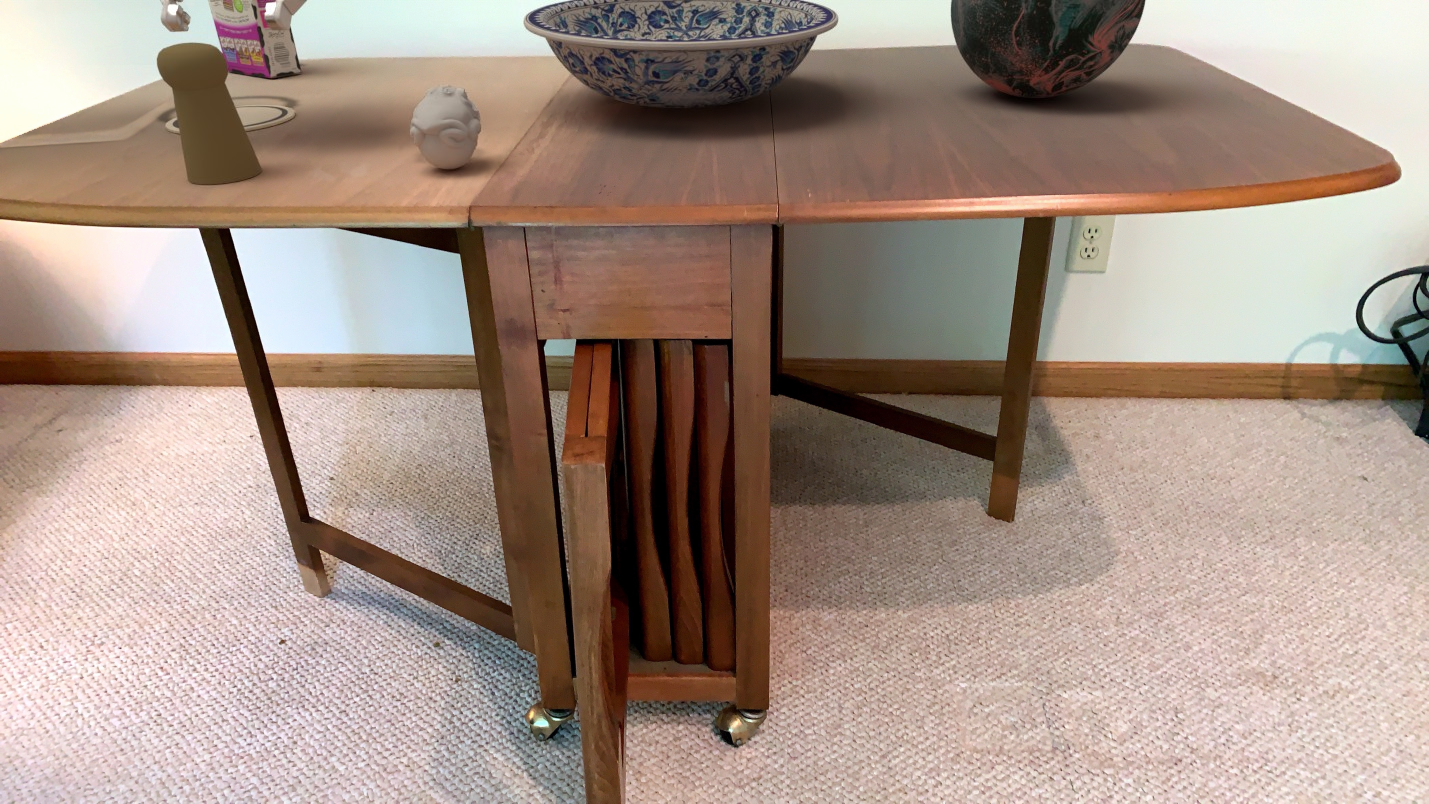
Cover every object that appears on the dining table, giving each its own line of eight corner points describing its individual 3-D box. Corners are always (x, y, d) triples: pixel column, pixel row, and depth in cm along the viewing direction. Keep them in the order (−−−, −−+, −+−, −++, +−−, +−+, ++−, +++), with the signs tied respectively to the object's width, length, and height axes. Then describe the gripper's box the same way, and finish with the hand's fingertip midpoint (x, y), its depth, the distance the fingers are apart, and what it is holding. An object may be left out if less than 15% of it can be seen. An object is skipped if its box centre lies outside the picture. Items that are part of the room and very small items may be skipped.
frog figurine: (500, 158, 83) (489, 80, 79) (465, 180, 77) (452, 96, 74) (440, 155, 84) (427, 78, 81) (402, 176, 78) (386, 94, 75)
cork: (204, 188, 76) (161, 52, 71) (177, 176, 80) (134, 45, 74) (273, 173, 80) (238, 42, 74) (245, 161, 84) (209, 36, 78)
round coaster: (148, 138, 92) (147, 135, 92) (186, 111, 103) (185, 108, 103) (281, 130, 94) (281, 127, 94) (305, 104, 105) (304, 101, 105)
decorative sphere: (923, 81, 110) (940, -104, 100) (1082, 77, 111) (1115, -108, 101) (969, 118, 93) (996, -100, 83) (1157, 113, 94) (1207, -105, 84)
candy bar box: (305, 73, 122) (273, -61, 114) (271, 79, 119) (236, -58, 111) (259, 66, 128) (225, -62, 120) (225, 72, 124) (188, -60, 116)
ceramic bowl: (584, 156, 83) (574, 42, 78) (503, 90, 110) (492, 2, 105) (894, 116, 95) (902, 14, 90) (752, 65, 122) (752, -15, 117)
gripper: (116, -127, 81) (87, 4, 77) (337, -131, 80) (318, 1, 76) (161, -73, 87) (136, 50, 83) (367, -77, 86) (350, 48, 82)
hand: (225, 27), depth 80 cm, fingers open, 8 cm apart
